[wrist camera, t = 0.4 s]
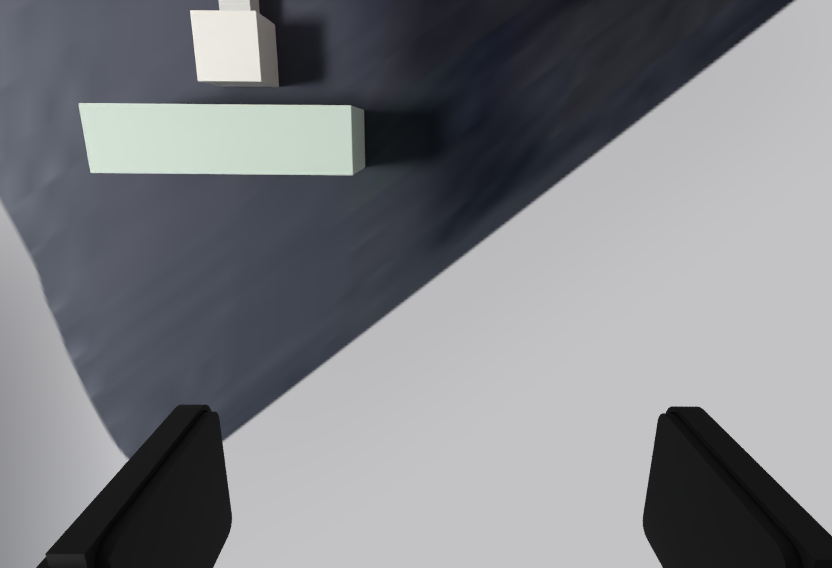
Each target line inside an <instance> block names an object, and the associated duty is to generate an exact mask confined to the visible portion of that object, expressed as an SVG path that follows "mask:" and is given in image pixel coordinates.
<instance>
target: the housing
mask: <svg viewBox="0 0 832 568" xmlns="http://www.w3.org/2000/svg"><path fill="white" fill-rule="evenodd" d="M79 109H80V115H81V121H82V126H83V132H84V138H85V143H86V149H87V155H88V161H89V166H90V172H91V173H167V174H277V175H354V174H355V173H357V172H359V171H360V170H362V169H363V168H365V132H364V110H363V109H360V108H357V107H354V106H351V105H242V104H117V103H79Z"/></svg>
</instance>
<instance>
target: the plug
mask: <svg viewBox="0 0 832 568" xmlns="http://www.w3.org/2000/svg"><path fill="white" fill-rule="evenodd" d="M219 9H220V11H208V10H190V13H191V22H192V32H193V41H194V50H195V59H196V68H197V77H198V81H200V82H204V83H209V84H214V85H218V86H223V87H279V77H278V62H277V47H276V32H275V24H273V23H272V22H271V21H269V20H268V19H267V18H265V17H264V16H262V15H261V14H260V11H259V0H219Z"/></svg>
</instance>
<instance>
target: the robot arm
mask: <svg viewBox="0 0 832 568" xmlns="http://www.w3.org/2000/svg"><path fill="white" fill-rule="evenodd" d="M231 523H232V513H231V505H230V498H229V490H228V483H227V475H226V468H225V459H224V452H223V444H222V436H221V429H220V421H219V416H218V414H217V412H211V409H210V408H209V406H208V405H178V406H177V407H176V408H175V409H174V410H173V411H172V412H171V414H170V415H169V416H168V417H167V418H166V419H165V420H164V421H163V423H162V424H161V425H160V426H159V427H158V428H157V429H156V430H155V432H154V433H153V434H152V435H151V436H150V437H149V438H148V439H147V441H146V442H145V443H144V444H143V445H142V446H141V447H140V448H139V449H138V451H137V452H136V453H135V454H134V455H133V456H132V457H131V458H130V460H129V461H128V462H127V463H126V464H125V465H124V466H123V468H122V469H121V470H120V471H119V472H118V473H117V474H116V476H114V478H113V479H112V480H111V481H110V482H109V483H108V484H107V485H106V487H105V488H104V489H103V490H102V491H101V492H100V493H99V494H98V495H97V497H96V498H95V499H94V500H93V501H92V502H91V503H90V505H89V506H88V507H87V508H86V509H85V510H84V511H83V512H82V514H81V515H80V516H79V517H78V518H77V519H76V520H75V521H74V523H73V524H72V525H71V526H70V527H69V528H68V529H67V530H66V531H65V533H64V534H63V535H62V536H61V537H60V538H59V540H58V541H57V542H56V543H55V544H54V545H53V546H52V547H51V548H50V549H49V551H48V552H47V553H46V557H45V559H44V560H43V561H42V562H41V563H40V564H39V565H38V566H37V568H213V567H214V564H215V562H216V560H217V558H218V556H219V554H220V552H221V549H222V548H223V546H224V544H225V541H226V539H227V537H228V535H229V532H230V529H231ZM643 527H644V532H645V535H646V537H647V539H648V541H649V543H650V545H651V547H652V549H653V550H654V552H655V554H656V556H657V558H658V559H659V561H660V563H661V565H662V567H663V568H832V536H831V535H830V534H829V533H828V532H827V531H826V530H825V529H824V528H823V527H822V526H821V525H820V524H819V523H818V522H817V521H816V520H815V519H814V518H813V517H812V516H810V514H809V513H808V512H807V511H806V510H805V509H804V508H802V506H800V505H799V504H798V503H797V502H796V501H795V500H794V499H793V498H792V497H791V496H790V495H789V494H788V493H787V492H786V491H785V490H784V489H783V488H782V487H781V486H780V485H779V484H778V483H777V482H776V481H775V480H774V479H773V478H772V477H771V476H770V475H769V474H768V473H767V472H766V471H765V470H764V469H763V468H762V467H761V466H760V465H759V464H758V463H757V462H756V461H755V460H754V459H753V458H752V457H751V456H750V455H749V454H748V453H747V452H746V451H745V450H744V449H743V448H742V447H741V446H740V445H739V444H738V443H737V442H736V441H735V440H734V439H733V438H732V437H730V435H729V434H728V433H727V432H726V431H725V430H724V429H722V427H720V426H719V424H718V423H717V422H716V421H715V420H713V419H712V418H711V417H710V416H709V415H708V414H707V413H706V412H705V411H704V410H703V409H702V408H700V407H670V408H668V410H667V412H666V414H661V415H660V416H659V419H658V423H657V430H656V437H655V442H654V450H653V456H652V462H651V468H650V475H649V482H648V488H647V494H646V502H645V507H644V514H643Z"/></svg>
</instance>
